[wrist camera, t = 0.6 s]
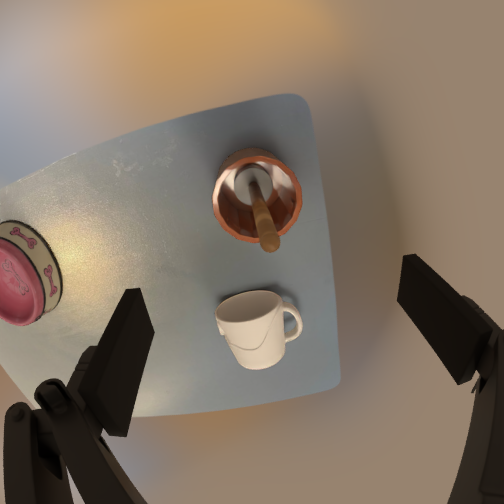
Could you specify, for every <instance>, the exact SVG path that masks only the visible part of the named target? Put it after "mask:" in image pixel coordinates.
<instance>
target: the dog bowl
mask: <svg viewBox="0 0 504 504" xmlns="http://www.w3.org/2000/svg"><path fill="white" fill-rule="evenodd" d="M61 294H62V279H61V274H60V270H59V267H58V264H57V261H56V259H55V257H54V255H53V253H52V252H51V250H50V249H49V247H48V245H47V244H46V243H45V241H44V240H43V239H42V238H41V237H40V236H39V235H38V234H37V233H36V232H35V231H34V230H33V229H31V228H30V227H28V226H27V225H25V224H22V223H20V222H16V221H6V222H3V223H1V224H0V318H2V319H3V320H5V321H6V322H8V323H10V324H13V325H17V326H25V325H29V324H31V323H33V322H35V321H37V320H38V319H40V318H41V316H43V315H44V314H46V313H48V312H50V311H51V310H53V309H54V308H55V307H56V306H57V304H58V303H59V301H60V298H61Z"/></svg>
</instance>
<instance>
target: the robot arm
mask: <svg viewBox="0 0 504 504" xmlns="http://www.w3.org/2000/svg"><path fill="white" fill-rule="evenodd" d="M397 302H398V303H399V304H400V305H401V307H402V308H403V309H404V311H405V312H406V313H407V314H408V316H409V317H410V318H411V320H412V321H413V323H414V324H415V325H416V326H417V328H418V329H419V330H420V332H421V333H422V335H423V336H424V337H425V339H426V340H427V341H428V343H429V344H430V346H431V347H432V348H433V350H434V351H435V353H436V354H437V356H438V357H439V358H440V360H441V361H442V363H443V364H444V366H445V367H446V368H447V370H448V371H449V373H450V374H451V376H452V377H453V378H454V380H455V382H456V383H457V385H460V384H463V383H465V382H468V381H470V380H471V379H472V377H473V375H474V373H475V371H476V370H477V371H478V373H479V374H480V376H479V378H478V380H477V382H476V384H475V386H474V387H473V389H472V392H471V393H474V391H475V389H476V394H475V401H474V406H473V412H472V417H471V423H470V427H469V432H468V436H467V440H466V445H465V448H464V453H463V456H462V460H461V464H460V467H459V470H458V473H457V477H456V480H455V483H454V486H453V489H452V492H451V495H450V498H449V500H448V503H447V504H504V330H502V329H501V328H500V327H499V326H498V325H497V324H496V323H495V322H494V321H493V320H492V319H491V318H490V317H489V316H488V315H487V314H486V313H484V311H483V310H482V309H481V308H479V306H478V305H477V304H476V303H475V302H474V301H473V300H472V299H470V298H468V297H466V296H461V295H459V294H458V293H457V292H456V291H455V290H454V289H453V288H452V287H451V286H450V285H449V284H448V283H447V282H446V281H445V280H444V279H443V278H441V276H439V275H438V274H437V273H436V272H435V271H434V270H433V269H432V268H431V267H429V265H427V264H426V263H425V262H424V261H423V260H422V259H421V258H420V257H418V256H417V255H416V254H410V255H404V256H403V262H402V270H401V277H400V284H399V290H398V297H397ZM154 333H155V332H154V329H153V326H152V323H151V320H150V317H149V314H148V311H147V308H146V305H145V302H144V299H143V296H142V292H141V289H140V288H133V289H126V290H125V292H124V294H123V296H122V298H121V300H120V301H119V303H118V305H117V307H116V309H115V311H114V313H113V315H112V317H111V319H110V321H109V323H108V325H107V327H106V329H105V331H104V333H103V335H102V337H101V339H100V341H99V343H98V345H97V346H89V347H88V348H87V349H86V350H85V351H84V352H83V353H82V355H81V357H80V359H79V361H78V364H77V365H76V367H75V371H74V372H73V374H72V376H71V378H70V380H69V382H68V384H67V386H66V387H65V385H64V384H63V382H62V381H61V380H59V379H48V380H45V381H44V382H42V383H41V384H40V385H39V386H38V387H37V388H36V391H35V393H34V399H35V400H36V402H37V403H38V404H39V405H40V407H41V408H42V409H36V410H31V409H30V407H29V406H28V405H27V404H26V403H24V402H18V403H15V404H13V405H12V406H11V407H10V408H9V409H8V410H7V412H6V415H5V423H4V447H3V448H4V449H3V458H4V459H3V467H4V489H5V502H6V504H74V503H73V498H72V494H71V489H70V484H69V479H68V475H67V469H66V466H67V468H68V471H69V473H70V475H71V477H72V479H73V481H74V483H75V485H76V487H77V489H78V491H79V493H80V495H81V497H82V499H83V501H84V502H85V504H147V502H146V501H145V500H144V498H143V497H142V496H141V494H140V493H139V492H138V490H137V489H136V488H135V487H134V485H133V483H132V482H131V481H130V479H129V478H128V476H127V475H126V473H125V472H124V470H123V469H122V467H121V466H120V464H119V463H118V461H117V460H116V458H115V456H114V455H113V453H112V452H111V450H110V448H109V447H108V445H107V443H106V442H105V440H104V439H103V437H102V436H101V433H102V430H103V428H104V429H105V430H106V432H107V433H108V435H109V436H119V437H127V433H128V429H129V424H130V421H131V417H132V413H133V409H134V405H135V401H136V397H137V393H138V389H139V386H140V382H141V378H142V375H143V371H144V367H145V364H146V360H147V357H148V353H149V350H150V346H151V343H152V340H153V336H154Z"/></svg>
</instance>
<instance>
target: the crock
mask: <svg viewBox="0 0 504 504" xmlns="http://www.w3.org/2000/svg"><path fill="white" fill-rule="evenodd" d="M247 165H258V166H260V167H262V168H264V169H265V170H266V171H267V173H268V174H269V176H270V177H271V179H272V182H273V190H272V194H271V196H270V197H269V199H268V200H267V201H265V202H266V204H267V207H268V210H269V212H270V215H271V217H272V220H273V223H274V225H275V228H276V230H277V233H278V236H281V235H283V234H285V233H286V232H287V231H288V230H289V229H290V228H291V226H292V225H293V224H294V223H295V222H296V220H297V218H298V216H299V213H300V210H301V207H302V191H301V186H300V184H299V182H298V180H297V178H296V176H295V174H294V172H293V171H292V170H290V169H289V168H288V167H287V166H286V165H285V164H284V163H283V162H281V161H280V160H279V159H278V158H277V157H275V156H274V155H273V154H272V153H271V152H269V151H266V150H263V149H260V148H244V149H240V150H238V151H236V152H234V153H233V154H231V155H229V156H228V157H227V159H226V160H225V161H224V162H223V164H222V165H221V166H220V168H219V172H218V176H217V179H216V183H215V187H214V191H213V195H212V203H213V209H214V215H215V217H216V218H217V220H218V222H219V223H220V225H221V226H222V228H223V229H224V230H225V231H226V232H228V233H229V234H231V235H232V236H234V237H235V238H236V239H239V240H243V241H247V242H251V243H259V242H260V241H259V236H258V232H257V227H256V223H255V218H254V213H253V209H252V206H251V205H247V204H244V203H243V202H241V201H240V200H239V199H238V198H237V196H236V194H235V192H234V178H235V175H236V173H237V172H238V171H239V170H240V169H241V168H242V167H244V166H247Z"/></svg>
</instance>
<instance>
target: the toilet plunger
mask: <svg viewBox="0 0 504 504" xmlns="http://www.w3.org/2000/svg"><path fill="white" fill-rule="evenodd" d="M272 190H273V182H272V179H271V177H270V176H269V174H268V173H267V171H266V170H265V169H264V168H262V167H260V166H258V165H247V166H244V167H242V168H241V169H240V170H239V171H238V172H237V173H236V175H235V178H234V192H235V194H236V196H237V198H238V199H239V200H240V201H241V202H243V203H244V204H247V205H251V206H252V209H253V213H254V218H255V223H256V227H257V232H258V236H259V241H260V245H261V248H262V249H263V250H264V251H266V252H269V253H271V252H275V251H276V250H277V249H278V248H279V246H280V238H279V236H278V233H277V230H276V228H275V225H274V223H273V220H272V217H271V215H270V212H269V210H268V207H267V204H266V202H265V201H267V200H268V199H269V197H270V196H271V194H272Z"/></svg>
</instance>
